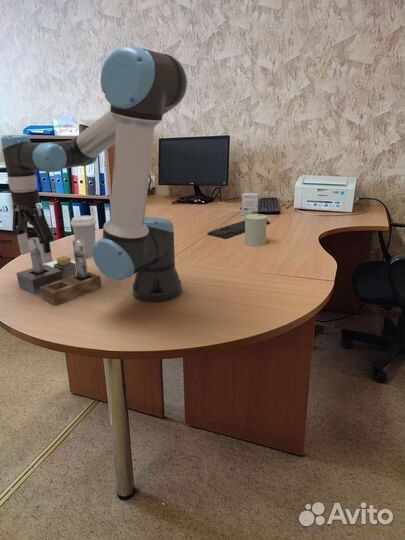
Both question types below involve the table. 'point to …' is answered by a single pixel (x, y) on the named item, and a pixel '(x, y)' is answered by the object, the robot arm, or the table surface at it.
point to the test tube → (80, 259)
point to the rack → (69, 288)
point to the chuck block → (44, 277)
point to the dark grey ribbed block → (230, 230)
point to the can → (255, 229)
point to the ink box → (249, 203)
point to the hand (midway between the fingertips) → (36, 257)
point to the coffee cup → (85, 232)
